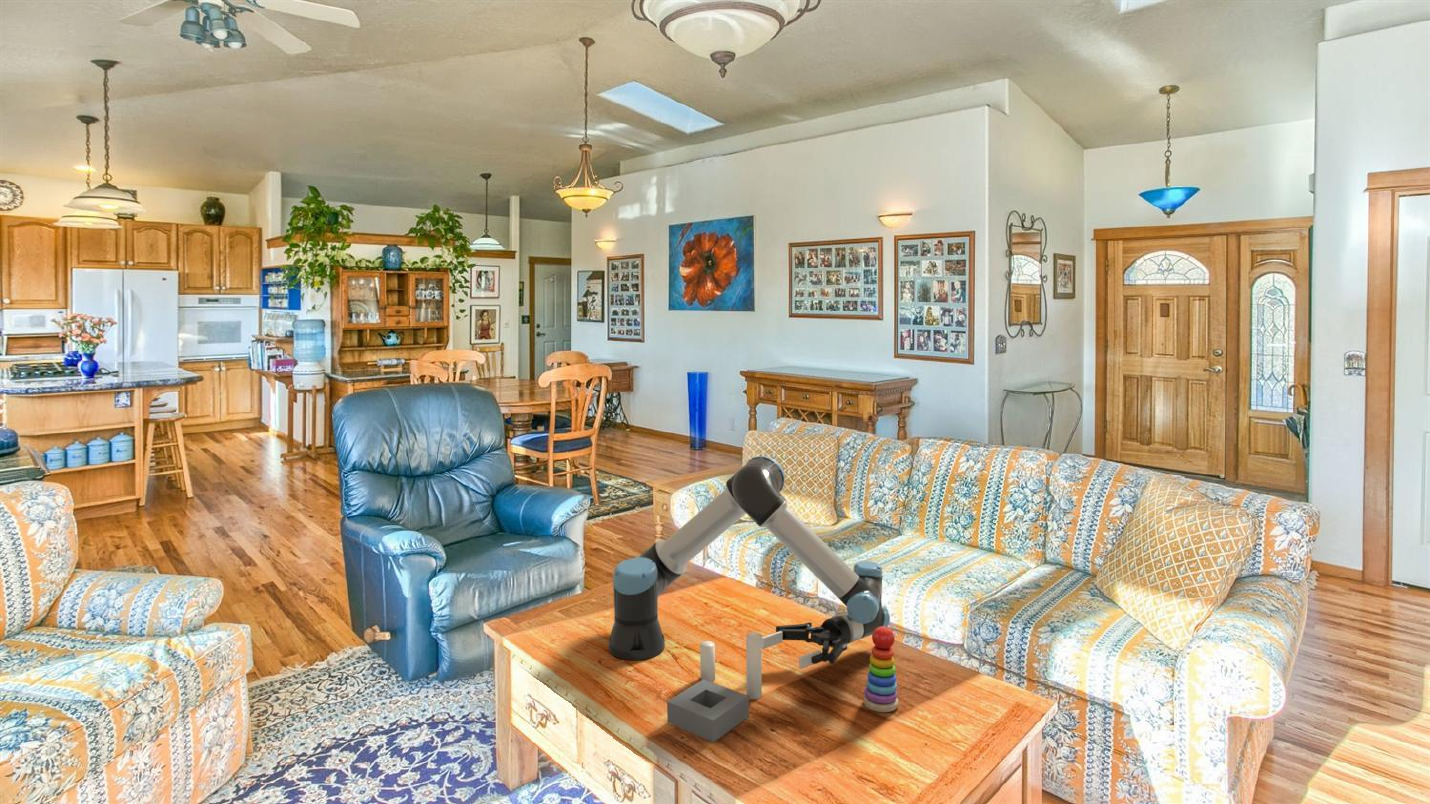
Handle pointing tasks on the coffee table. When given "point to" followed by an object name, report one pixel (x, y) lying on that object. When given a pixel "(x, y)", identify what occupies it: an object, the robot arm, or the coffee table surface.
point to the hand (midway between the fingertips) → (780, 653)
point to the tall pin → (754, 665)
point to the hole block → (708, 710)
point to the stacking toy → (881, 673)
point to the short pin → (707, 660)
